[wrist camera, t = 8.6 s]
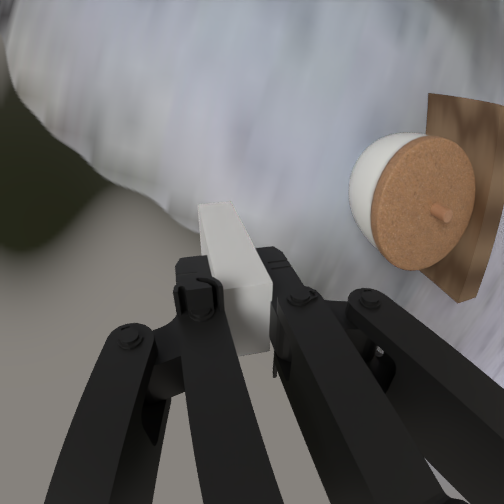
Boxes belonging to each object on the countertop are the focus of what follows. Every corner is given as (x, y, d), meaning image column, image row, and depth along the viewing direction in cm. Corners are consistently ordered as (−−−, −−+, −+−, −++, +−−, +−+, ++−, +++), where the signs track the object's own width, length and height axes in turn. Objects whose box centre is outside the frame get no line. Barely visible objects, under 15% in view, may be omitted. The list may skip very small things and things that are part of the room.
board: (428, 93, 25) (500, 104, 17) (448, 98, 25) (517, 112, 18) (405, 258, 33) (457, 303, 25) (424, 255, 34) (475, 297, 26)
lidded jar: (375, 98, 24) (453, 109, 16) (435, 170, 29) (503, 201, 21) (304, 193, 27) (361, 239, 19) (377, 250, 32) (433, 301, 23)
